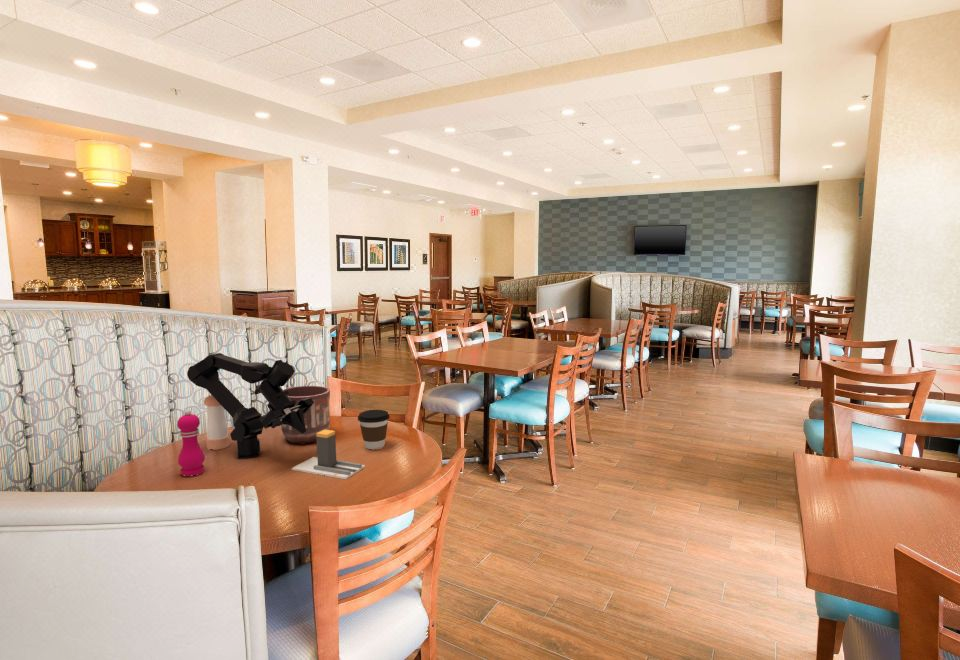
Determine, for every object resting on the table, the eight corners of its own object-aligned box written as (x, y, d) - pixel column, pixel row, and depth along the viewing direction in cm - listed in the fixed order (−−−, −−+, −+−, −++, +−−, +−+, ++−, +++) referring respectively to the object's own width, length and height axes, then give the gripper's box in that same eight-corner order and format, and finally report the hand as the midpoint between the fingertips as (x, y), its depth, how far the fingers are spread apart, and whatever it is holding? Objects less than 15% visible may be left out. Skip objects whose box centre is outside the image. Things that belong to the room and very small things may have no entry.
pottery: (286, 450, 180) (284, 399, 178) (275, 436, 195) (273, 389, 192) (337, 441, 190) (336, 392, 187) (323, 428, 204) (321, 383, 202)
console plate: (292, 469, 163) (291, 464, 163) (313, 458, 172) (313, 454, 172) (345, 479, 156) (345, 474, 156) (364, 467, 165) (364, 462, 165)
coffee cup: (356, 444, 186) (354, 411, 184) (386, 440, 190) (385, 407, 189) (361, 454, 176) (360, 419, 174) (394, 449, 180) (393, 415, 179)
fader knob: (317, 467, 163) (316, 433, 162) (326, 463, 167) (324, 429, 165) (328, 469, 162) (326, 434, 160) (336, 464, 165) (335, 430, 164)
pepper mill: (178, 479, 157) (173, 414, 154) (179, 471, 163) (174, 408, 160) (205, 474, 160) (201, 411, 157) (205, 466, 166) (201, 405, 164)
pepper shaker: (223, 449, 181) (219, 395, 179) (202, 449, 181) (198, 395, 179) (233, 442, 188) (230, 390, 186) (213, 442, 189) (209, 390, 186)
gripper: (283, 403, 180) (310, 438, 177) (239, 418, 163) (269, 457, 160) (300, 383, 176) (328, 418, 173) (257, 396, 159) (288, 435, 156)
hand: (304, 432), depth 166 cm, fingers closed
